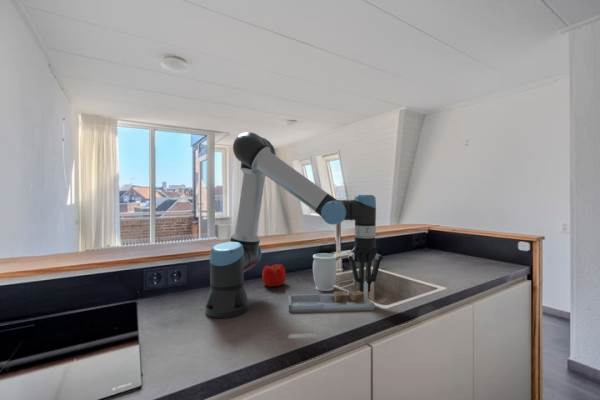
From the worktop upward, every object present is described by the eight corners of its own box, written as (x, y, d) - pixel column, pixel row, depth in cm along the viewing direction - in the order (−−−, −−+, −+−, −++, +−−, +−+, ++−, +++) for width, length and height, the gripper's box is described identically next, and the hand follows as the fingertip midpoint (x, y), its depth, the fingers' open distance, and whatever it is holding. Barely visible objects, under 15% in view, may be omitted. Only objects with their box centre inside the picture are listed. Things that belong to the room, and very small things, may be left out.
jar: (335, 295, 114) (335, 258, 114) (310, 293, 116) (310, 257, 116) (337, 286, 125) (337, 253, 124) (314, 285, 127) (314, 252, 126)
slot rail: (288, 314, 96) (288, 306, 96) (288, 302, 107) (288, 294, 107) (374, 312, 97) (374, 303, 97) (365, 300, 108) (365, 292, 108)
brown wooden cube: (353, 306, 100) (353, 295, 100) (349, 302, 104) (349, 291, 104) (363, 305, 101) (363, 294, 101) (359, 301, 105) (359, 290, 105)
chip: (335, 306, 100) (335, 295, 100) (333, 302, 104) (333, 291, 104) (346, 306, 100) (346, 295, 100) (344, 301, 104) (344, 291, 104)
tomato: (265, 290, 120) (265, 269, 120) (260, 282, 131) (260, 263, 131) (289, 287, 123) (289, 267, 123) (282, 280, 135) (282, 261, 134)
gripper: (350, 238, 98) (349, 304, 99) (386, 238, 99) (385, 303, 99) (345, 235, 106) (345, 296, 106) (378, 234, 106) (378, 296, 107)
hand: (364, 300), depth 103 cm, fingers closed
